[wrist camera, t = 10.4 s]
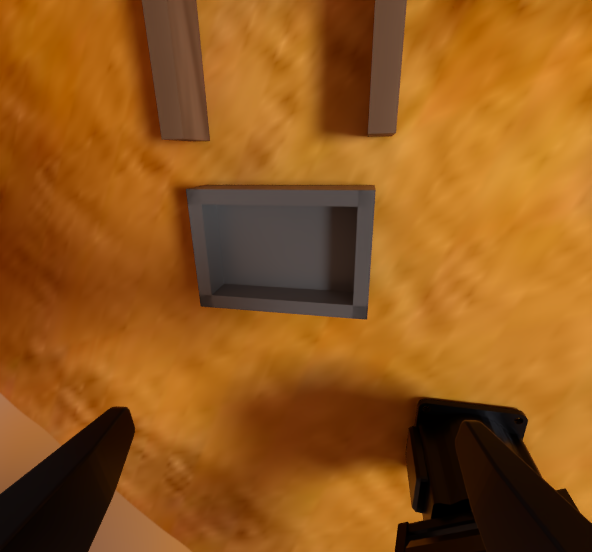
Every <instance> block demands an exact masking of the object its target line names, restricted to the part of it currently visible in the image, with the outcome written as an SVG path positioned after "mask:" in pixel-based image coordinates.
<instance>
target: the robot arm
mask: <svg viewBox="0 0 592 552" xmlns="http://www.w3.org/2000/svg"><path fill="white" fill-rule="evenodd" d="M424 406H428V408H423V407H424ZM516 418H520V419H516ZM515 419H516V420H515ZM527 423H528V419H527V418H526V416H525V414H524V413H523V412H522V411H519V410H513V409H505V408H496V407H488V406H480V405H471V404H463V403H455V402H446V401H438V400H430V399H422V400H420V401H419V402H418V405H417V412H416V419H415V426H411V427H410V428H409V431H408V439H407V446H406V454H405V455H406V463H407V472H408V480H409V488H410V496H411V504H412V508H413V509H414V510H415V512H419V513H422V515H423V521H419V522H414V523H408V522H404V523H400V524H398V530H397V538H396V546H395V552H592V523H591V522H590V521H588V520H587V519H586V518H585V517H584V516H583V515H582V514H581V513H580V512H579V510H578V508H577V507H576V505H575V503H574V502H573V500H572V498H571V497H570V495H569V493H568V492H567V490H566V488H565V489H560V490H555V489H554V488H552V487H551V486H550V485H549V484H548V483H547V482H546V481H545V480H544V479H543V478H542V476H541V474H540V472H539V470H538V468H537V466H536V465H535V463H534V461H533V459H532V457H531V455H530V453H529V451H528V450H527V448H526V446H525V444H524V442H523V437H524V433H525V430H526V426H527ZM134 433H135V426H134V423H133V419H132V416H131V413H130V410H129V409H128V408H127V407H112V408H110V409H108V410H107V411H106V412H104V413H103V414H102V415H101V416H99V417H98V418H97V419H95V420H94V421H93V422H92V423H90V424H89V425H88V426H87V427H85V428H84V429H83V430H81V431H80V432H79V433H78V434H76V435H75V436H74V437H72V438H71V439H70V440H69V441H67V442H66V443H65V444H64V445H62V446H61V447H60V448H59V449H57V450H56V451H55V452H54V453H52V454H51V455H50V456H48V457H47V458H46V459H44V460H43V461H42V462H41V463H39V464H38V465H37V466H36V467H34V468H33V469H32V470H31V471H29V472H28V473H27V474H25V475H24V476H23V477H21V478H20V479H19V480H18V481H16V482H15V483H14V484H13V485H11V486H10V487H9V488H7V489H6V490H5V491H4V492H2V493H1V494H0V552H88V551H89V549H90V546H91V544H92V542H93V540H94V538H95V535H96V533H97V531H98V529H99V526H100V524H101V522H102V520H103V517H104V515H105V513H106V511H107V508H108V506H109V504H110V502H111V500H112V497H113V495H114V492H115V489H116V487H117V484H118V481H119V478H120V475H121V472H122V469H123V466H124V464H125V461H126V458H127V455H128V452H129V449H130V446H131V443H132V440H133V437H134Z"/></svg>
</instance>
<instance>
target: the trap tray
mask: <svg viewBox="0 0 592 552" xmlns="http://www.w3.org/2000/svg"><path fill="white" fill-rule="evenodd" d="M186 194H187V201H188V209H189V217H190V225H191V233H192V241H193V249H194V256H195V264H196V272H197V280H198V288H199V296H200V304H201V306H202V307H215V308H228V309H240V310H253V311H266V312H278V313H291V314H304V315H316V316H329V317H342V318H354V319H367V311H368V296H369V280H370V265H371V250H372V235H373V220H374V204H375V185H204V186H199V187H195V188H190V189H186Z"/></svg>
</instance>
